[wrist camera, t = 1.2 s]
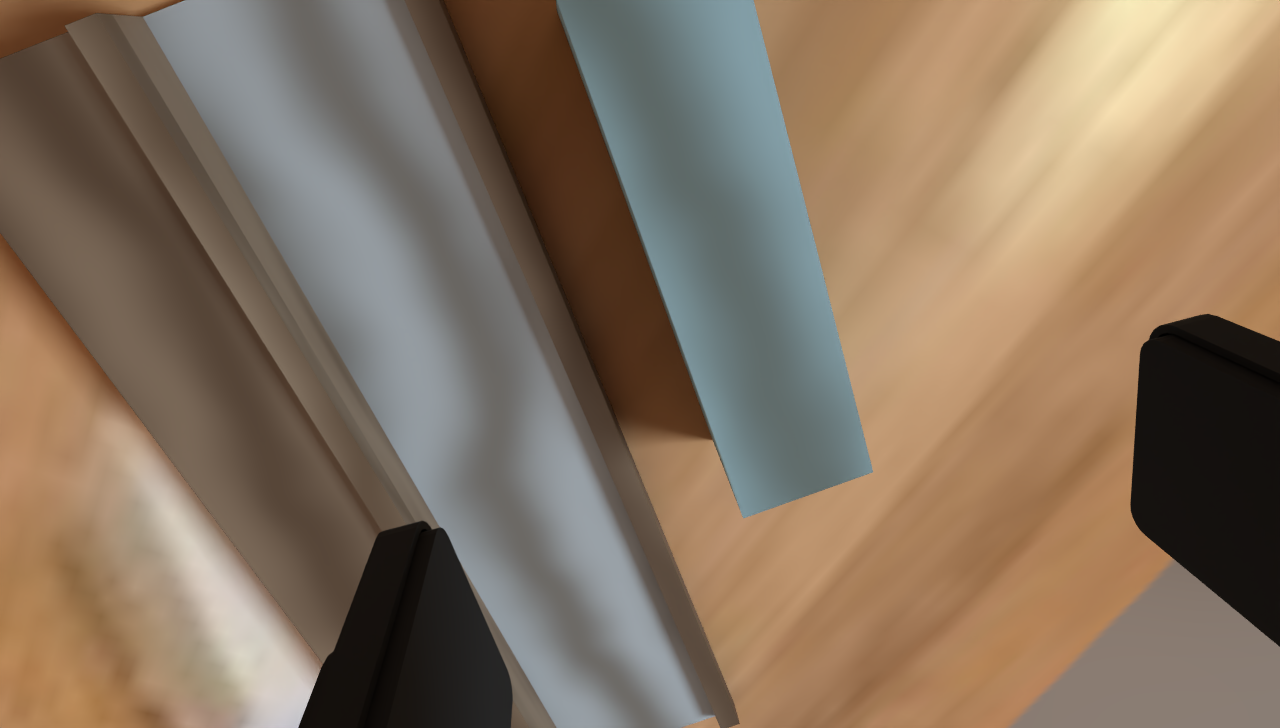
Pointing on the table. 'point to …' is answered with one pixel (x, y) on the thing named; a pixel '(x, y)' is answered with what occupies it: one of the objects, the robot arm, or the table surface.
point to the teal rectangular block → (724, 234)
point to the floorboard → (349, 328)
